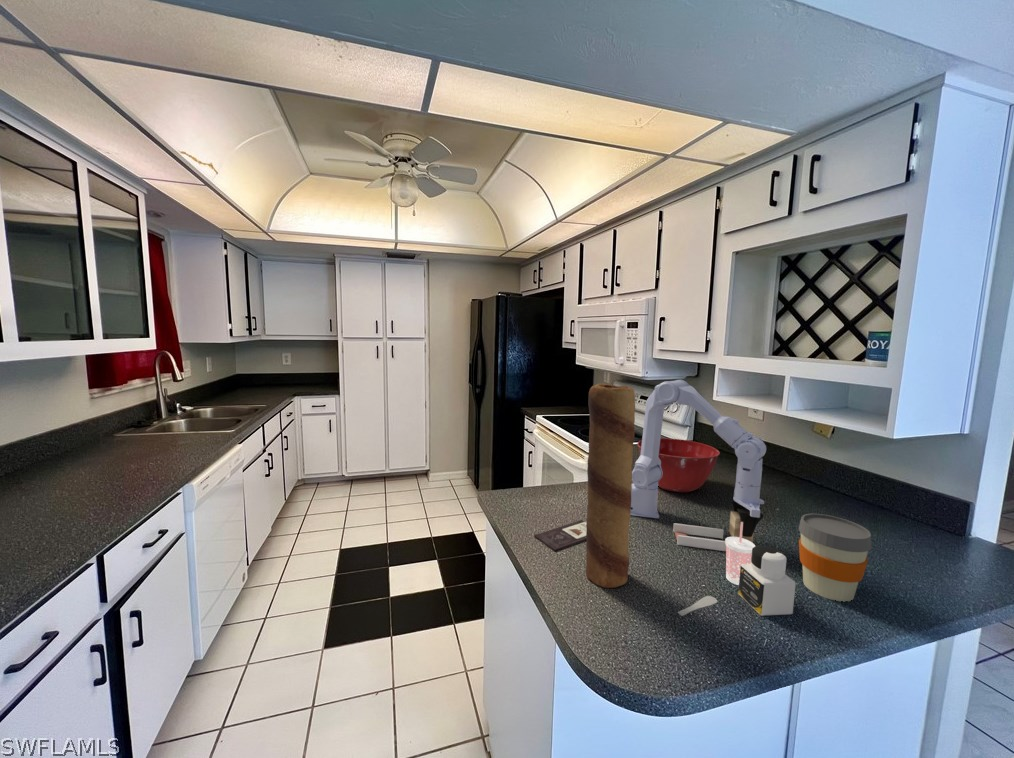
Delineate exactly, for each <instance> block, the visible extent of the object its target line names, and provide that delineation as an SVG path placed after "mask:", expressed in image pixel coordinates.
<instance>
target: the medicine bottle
mask: <svg viewBox="0 0 1014 758" xmlns="http://www.w3.org/2000/svg"><path fill="white" fill-rule="evenodd" d="M786 568H787V556H786V555H785V553H783V551H780V550H779V549H777V548H775V547H772V546H767V545H755V547H754V548H753V549H752V557H751V564H741V567H740V579H739V585H738V591H737V592H738V595H739V596H740V597H741V598H742V599H743V600H744V601H745V602H746V603H747V604H748V605H749V606H750V607H751V608H752V609H754V611H756V613H758V614H759V616H760V617H761V616H764V617H765V616H784V615H785V616H786V615H793V613H794V605H795V603H794V602H795V593H796V591H795V590H796V581H795V580H794V579H792V578H791V577H790V576H788V575H787V574H786V571H787V570H786Z"/></svg>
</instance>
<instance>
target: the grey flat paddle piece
mask: <svg viewBox="0 0 1014 758" xmlns="http://www.w3.org/2000/svg"><path fill="white" fill-rule="evenodd" d="M718 602H719V601H718V600H717V599H716V598H715V597H714V596H711V595H706V596H704V597H702V598H700V599H699V600H697V601H696V602H695V603H694V604H692V605H690V606H688V607H686V608H684V609H681V610H679V611H677V613H678V614H679V615H680V617H681V616H682V617H683V616H685V615H687V614H689V613H691V612H693V611H697V610H699V609H702V608H706V607H709V606H713V605H715V604H718Z"/></svg>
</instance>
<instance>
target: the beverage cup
mask: <svg viewBox="0 0 1014 758" xmlns="http://www.w3.org/2000/svg"><path fill="white" fill-rule="evenodd" d="M742 531H743V522H741V526H740V537H732V536H727V537H725V538H724V539H725V540H724V541H725V544H726V551H725V554H726V555H725V562H726V563H725V577H726V579H727V581H729V582H730V583H732V584H733V585H737V586H739V579H740V567H741V564H751V557H752V549H753V548H754V547H755V546H756V545H755V543H753V542H750V541H749V540H746V539H743V538H742Z"/></svg>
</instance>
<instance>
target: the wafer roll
mask: <svg viewBox="0 0 1014 758" xmlns="http://www.w3.org/2000/svg"><path fill="white" fill-rule="evenodd" d="M635 394H636V393H635V390H634V388H633V387H632V386H628V385H618V386H617V385H615V384H609V383H597V384H595V385H592V386H591V387H590V388H589V391H588V399H587V400H588V402H587V404H588V410H589V411H588V412H589V431H588V437H589V438H588V457H587V469H586V470H587V474H586V475H587V509H586V511H587V512H586V514H587V515H586V523H587V531H586V541H585V542H586V548H585V549H586V556H585V557H586V559H585V560H586V561H585V562H586V564H585V565H586V567H585V574H586V578H587V579H588V580H589V581H591V582H592V583H593V584H594V585H596V586H599V587H600V588H604V589H615V588H619V587H621V586H624V585H626V583H627V582H628V577H629V575H628V574H629V573H628V572H629V566H630V553H629V551H630V550H629V546H630V541H629V540H630V538H629V534H630V520H631V516H632V515H631V490H632V484H633V481H632V471H633V470H632V466H633V451H634V439H635V433H636V431H635V423H636V422H635V420H636V418H635V415H636V414H635V413H636V412H635V411H636V397H635V396H636V395H635Z"/></svg>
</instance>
